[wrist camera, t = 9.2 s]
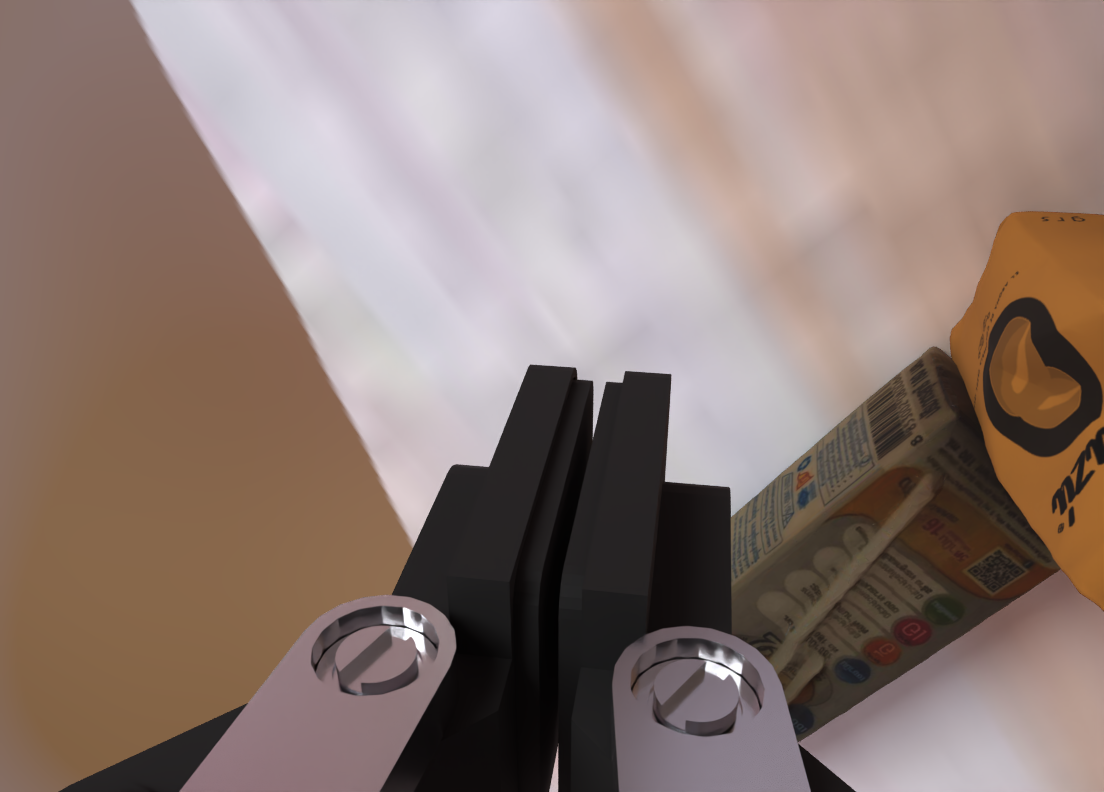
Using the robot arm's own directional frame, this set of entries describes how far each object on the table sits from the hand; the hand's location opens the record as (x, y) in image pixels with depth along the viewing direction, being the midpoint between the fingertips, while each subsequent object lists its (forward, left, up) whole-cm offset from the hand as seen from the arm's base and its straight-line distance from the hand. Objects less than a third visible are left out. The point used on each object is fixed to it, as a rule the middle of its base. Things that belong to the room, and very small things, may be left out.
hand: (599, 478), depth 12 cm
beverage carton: (+19, +7, -27) cm, 34 cm away
